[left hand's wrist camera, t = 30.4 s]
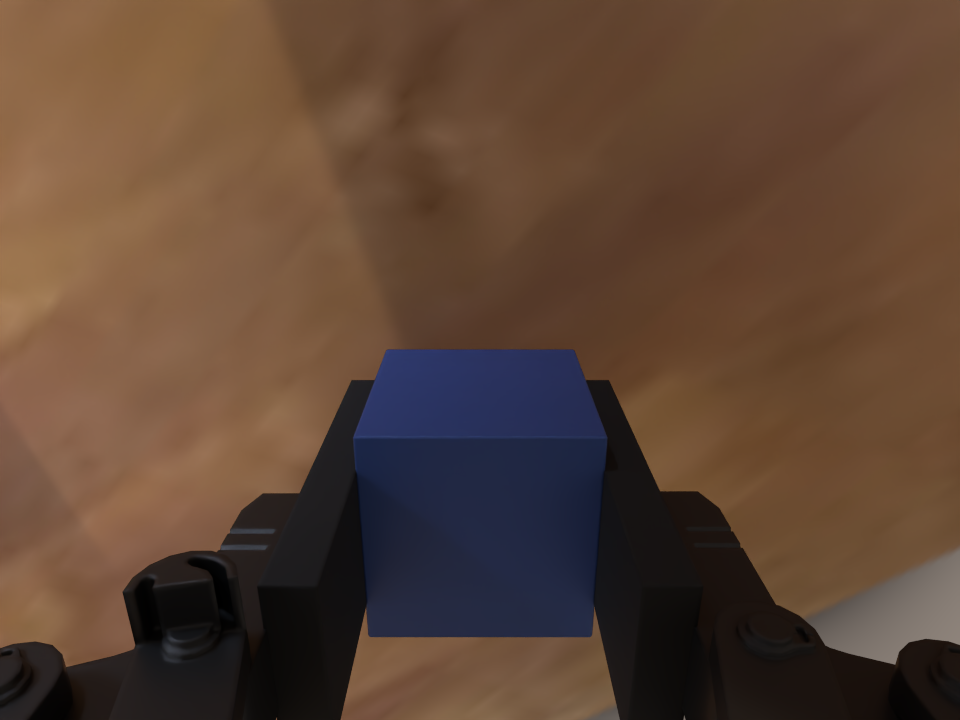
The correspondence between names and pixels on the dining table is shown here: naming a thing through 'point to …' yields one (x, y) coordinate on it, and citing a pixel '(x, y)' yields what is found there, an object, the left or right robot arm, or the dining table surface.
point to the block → (480, 494)
